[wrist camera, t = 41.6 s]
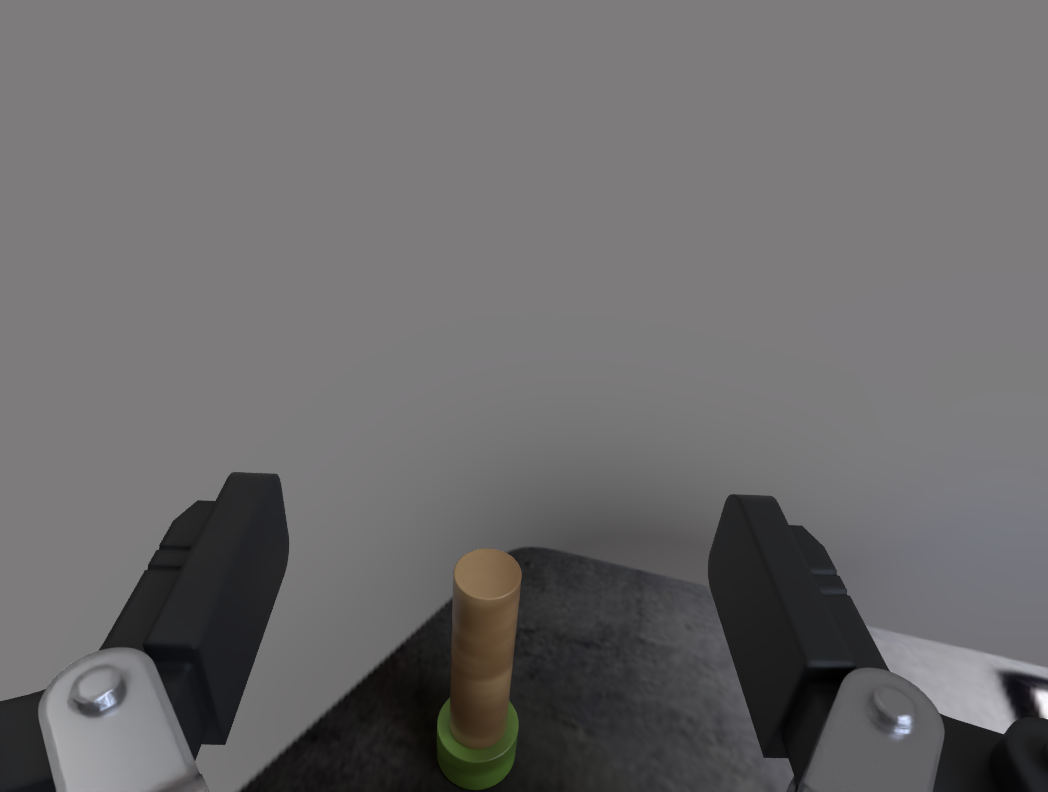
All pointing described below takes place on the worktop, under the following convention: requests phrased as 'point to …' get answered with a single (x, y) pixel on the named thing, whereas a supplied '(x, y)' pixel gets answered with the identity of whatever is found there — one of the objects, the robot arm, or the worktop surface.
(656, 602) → the worktop surface
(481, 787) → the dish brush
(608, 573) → the worktop surface
